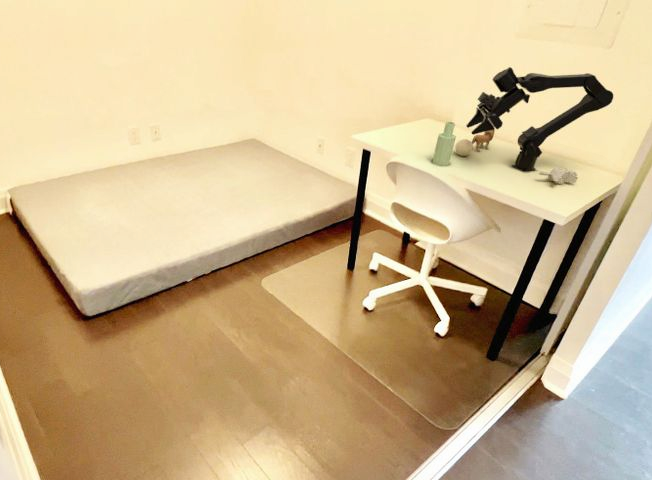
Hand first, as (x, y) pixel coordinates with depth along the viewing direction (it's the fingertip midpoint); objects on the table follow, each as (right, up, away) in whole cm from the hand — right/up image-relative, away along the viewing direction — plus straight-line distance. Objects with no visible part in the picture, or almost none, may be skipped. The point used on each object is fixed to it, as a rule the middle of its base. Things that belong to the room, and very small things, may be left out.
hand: (469, 130), depth 169 cm
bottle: (-9, -11, +8) cm, 16 cm away
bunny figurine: (+31, -22, -5) cm, 38 cm away
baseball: (+4, -5, +16) cm, 18 cm away
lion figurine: (+15, 0, +24) cm, 28 cm away
